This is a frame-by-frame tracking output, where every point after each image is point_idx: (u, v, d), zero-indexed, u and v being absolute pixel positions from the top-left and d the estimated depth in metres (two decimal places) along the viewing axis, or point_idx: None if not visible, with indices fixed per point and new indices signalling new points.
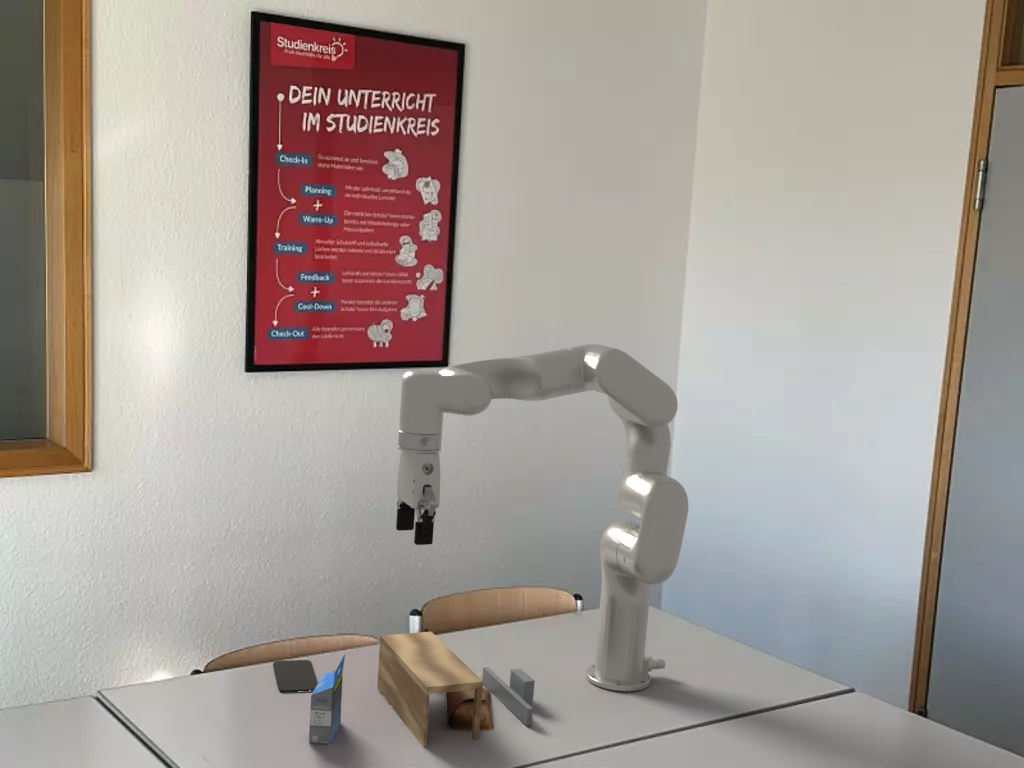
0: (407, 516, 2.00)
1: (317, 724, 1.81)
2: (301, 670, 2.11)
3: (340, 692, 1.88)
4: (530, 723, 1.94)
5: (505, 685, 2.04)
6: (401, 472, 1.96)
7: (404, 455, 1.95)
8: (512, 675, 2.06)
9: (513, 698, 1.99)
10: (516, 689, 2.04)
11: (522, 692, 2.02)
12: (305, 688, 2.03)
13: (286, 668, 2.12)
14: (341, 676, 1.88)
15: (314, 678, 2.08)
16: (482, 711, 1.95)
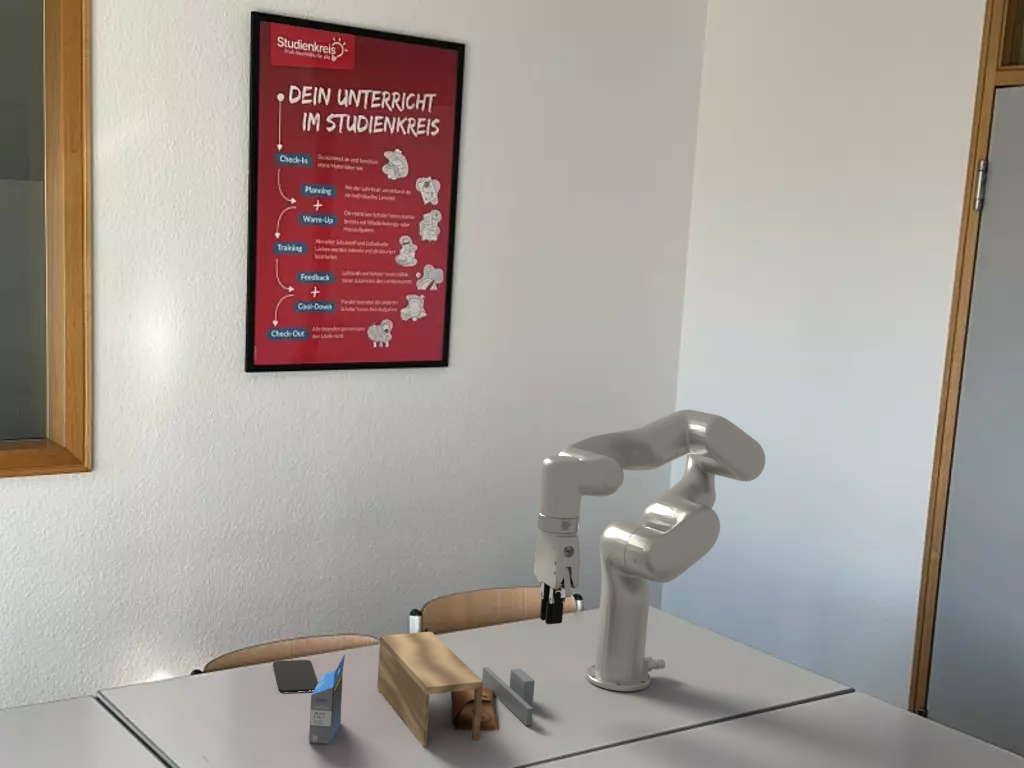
0: None
1: (317, 724, 1.81)
2: (301, 670, 2.11)
3: (340, 692, 1.88)
4: (530, 723, 1.94)
5: (505, 685, 2.04)
6: (539, 553, 2.04)
7: (543, 536, 2.03)
8: (512, 675, 2.06)
9: (513, 698, 1.99)
10: (516, 689, 2.04)
11: (522, 692, 2.02)
12: (305, 688, 2.03)
13: (286, 668, 2.12)
14: (341, 676, 1.88)
15: (314, 678, 2.08)
16: (487, 712, 1.95)
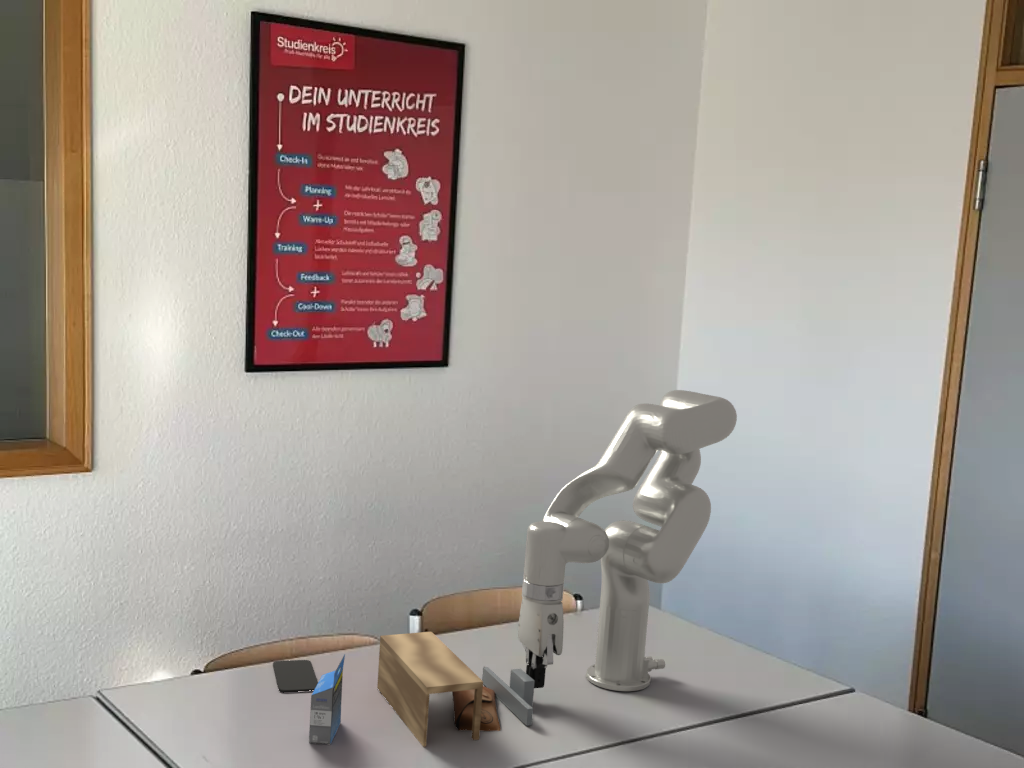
0: None
1: (317, 724, 1.81)
2: (301, 670, 2.11)
3: (340, 692, 1.88)
4: (530, 723, 1.94)
5: (505, 685, 2.04)
6: (524, 618, 2.04)
7: (527, 602, 2.03)
8: (512, 675, 2.06)
9: (513, 698, 1.99)
10: (516, 689, 2.04)
11: (522, 692, 2.02)
12: (305, 688, 2.03)
13: (286, 668, 2.12)
14: (341, 676, 1.88)
15: (314, 678, 2.08)
16: (489, 712, 1.95)
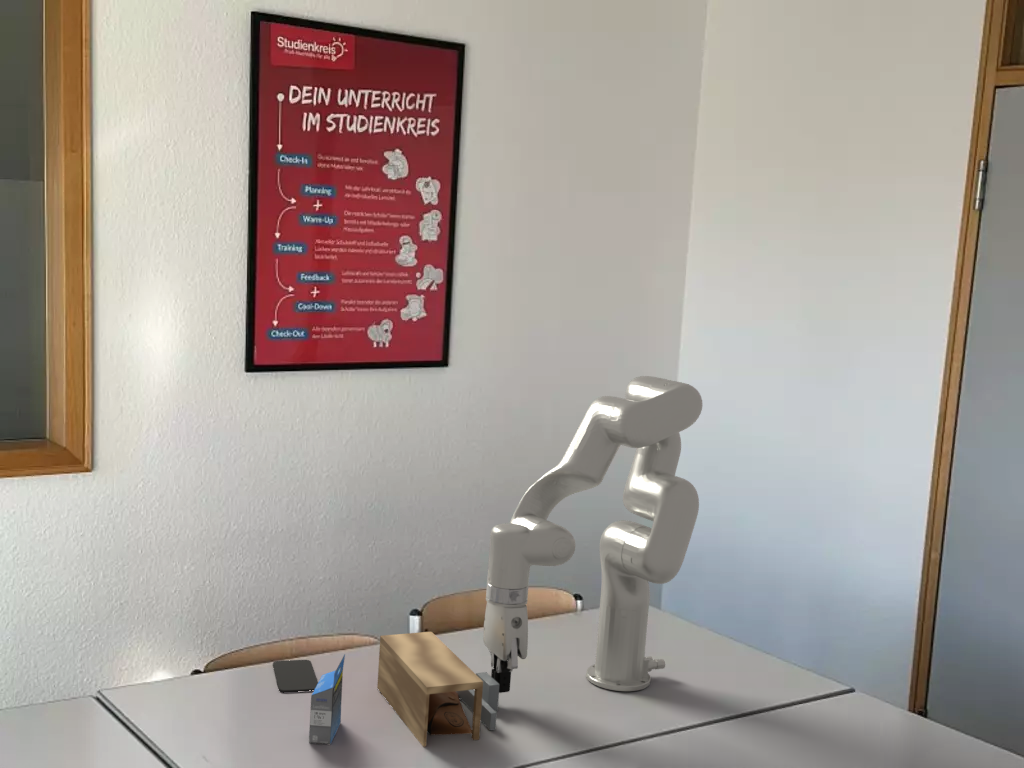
0: None
1: (317, 724, 1.81)
2: (301, 670, 2.11)
3: (340, 692, 1.88)
4: (494, 728, 1.91)
5: None
6: (488, 622, 2.02)
7: (491, 606, 2.00)
8: None
9: None
10: None
11: (486, 695, 1.99)
12: (305, 688, 2.03)
13: (286, 668, 2.12)
14: (341, 676, 1.88)
15: (314, 678, 2.08)
16: (459, 715, 1.93)
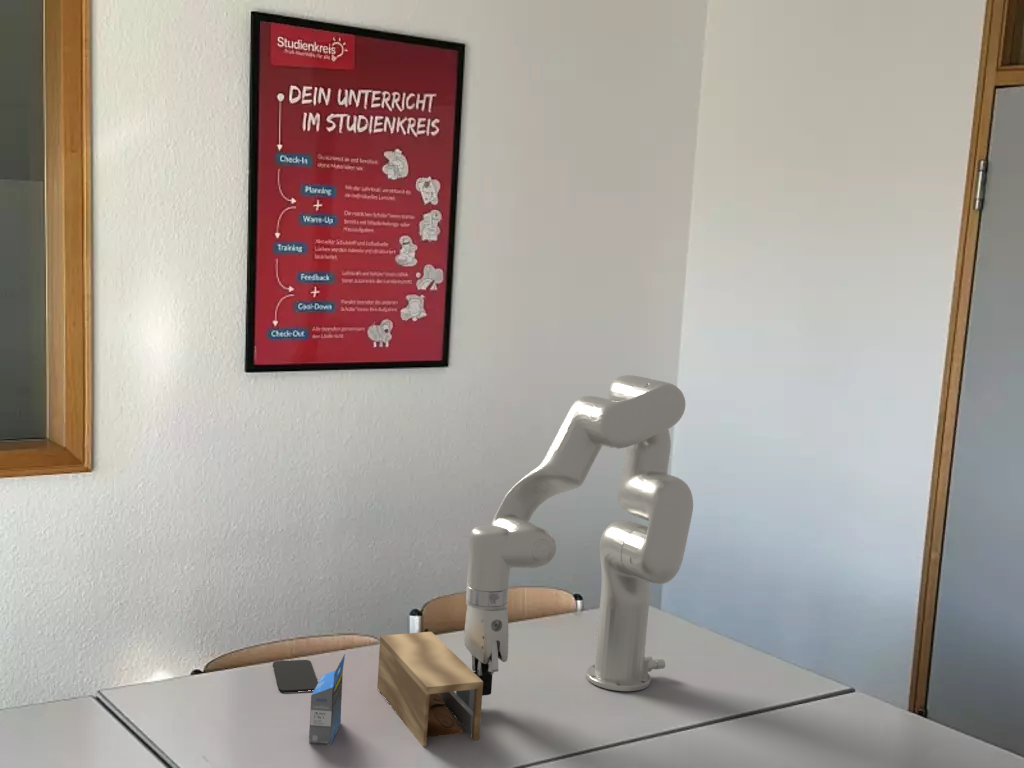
0: None
1: (317, 724, 1.81)
2: (301, 670, 2.11)
3: (340, 692, 1.88)
4: None
5: None
6: (469, 625, 2.00)
7: (471, 609, 1.99)
8: None
9: (458, 704, 1.95)
10: (462, 695, 2.00)
11: (467, 697, 1.97)
12: (305, 687, 2.03)
13: (286, 668, 2.12)
14: (341, 676, 1.88)
15: (314, 678, 2.08)
16: (447, 715, 1.92)
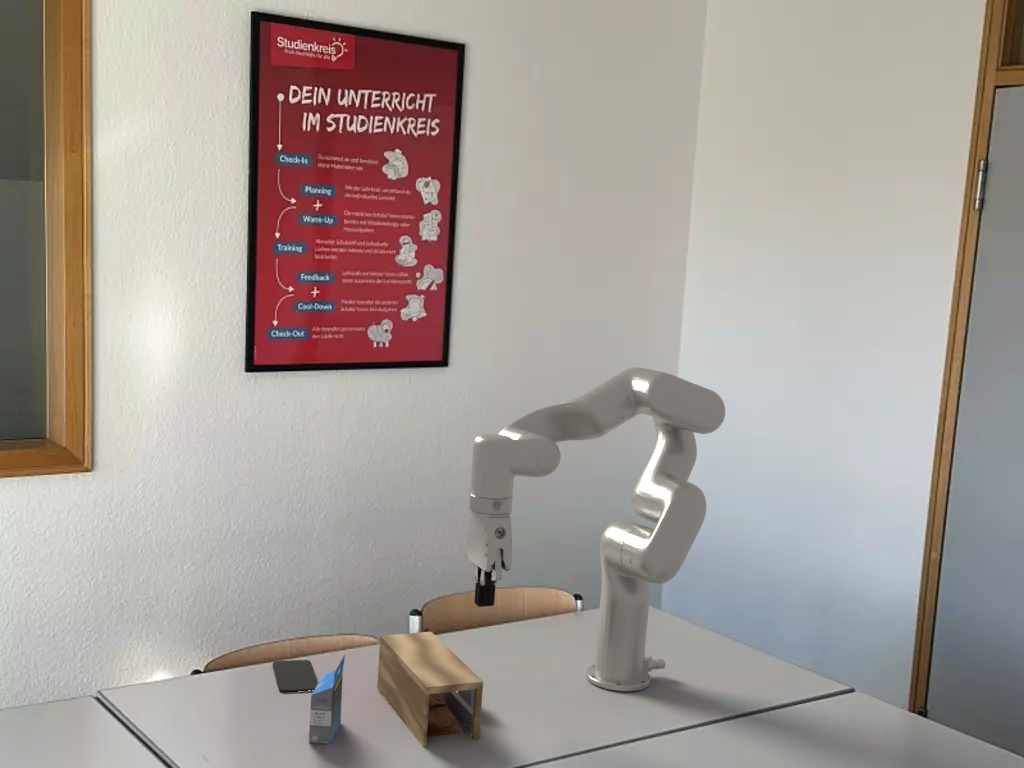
0: None
1: (317, 724, 1.81)
2: (301, 670, 2.11)
3: (340, 692, 1.88)
4: None
5: None
6: (472, 534, 1.98)
7: (475, 518, 1.97)
8: None
9: (459, 704, 1.95)
10: (464, 695, 2.00)
11: (469, 697, 1.97)
12: (305, 688, 2.03)
13: (286, 668, 2.12)
14: (341, 676, 1.88)
15: (314, 678, 2.08)
16: (448, 716, 1.92)
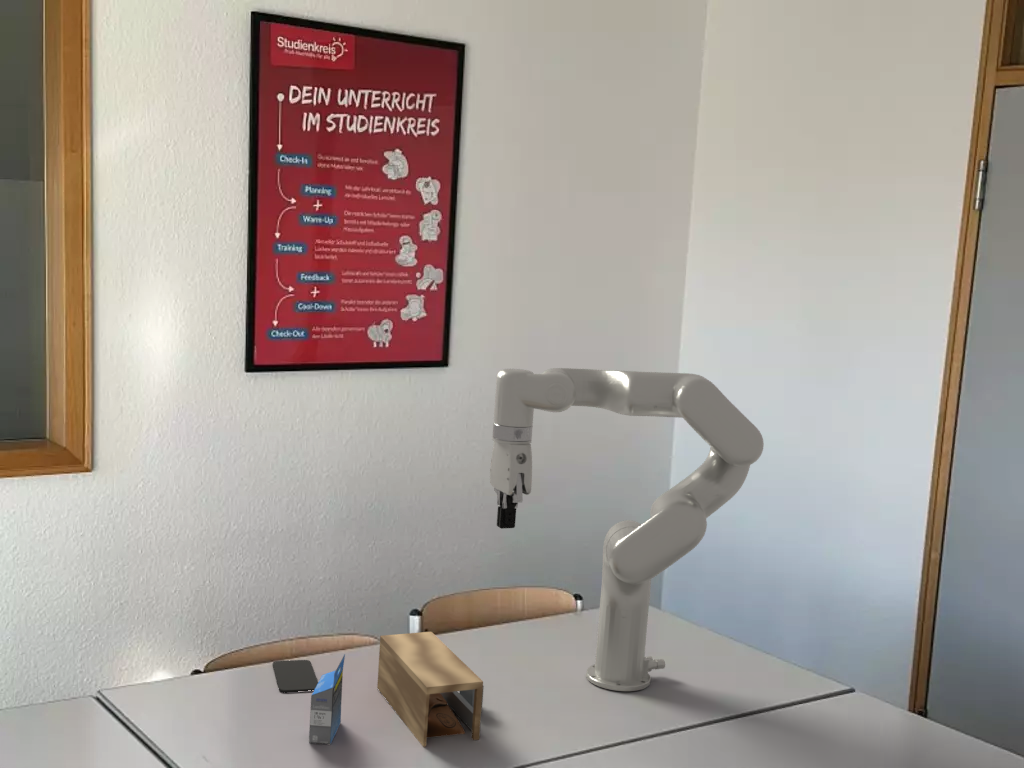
0: None
1: (317, 724, 1.81)
2: (301, 670, 2.11)
3: (340, 692, 1.88)
4: None
5: None
6: (495, 462, 2.14)
7: (497, 446, 2.13)
8: None
9: (461, 704, 1.95)
10: (465, 695, 2.00)
11: (471, 697, 1.98)
12: (306, 687, 2.03)
13: (286, 668, 2.12)
14: (341, 676, 1.88)
15: (314, 678, 2.08)
16: (450, 716, 1.92)
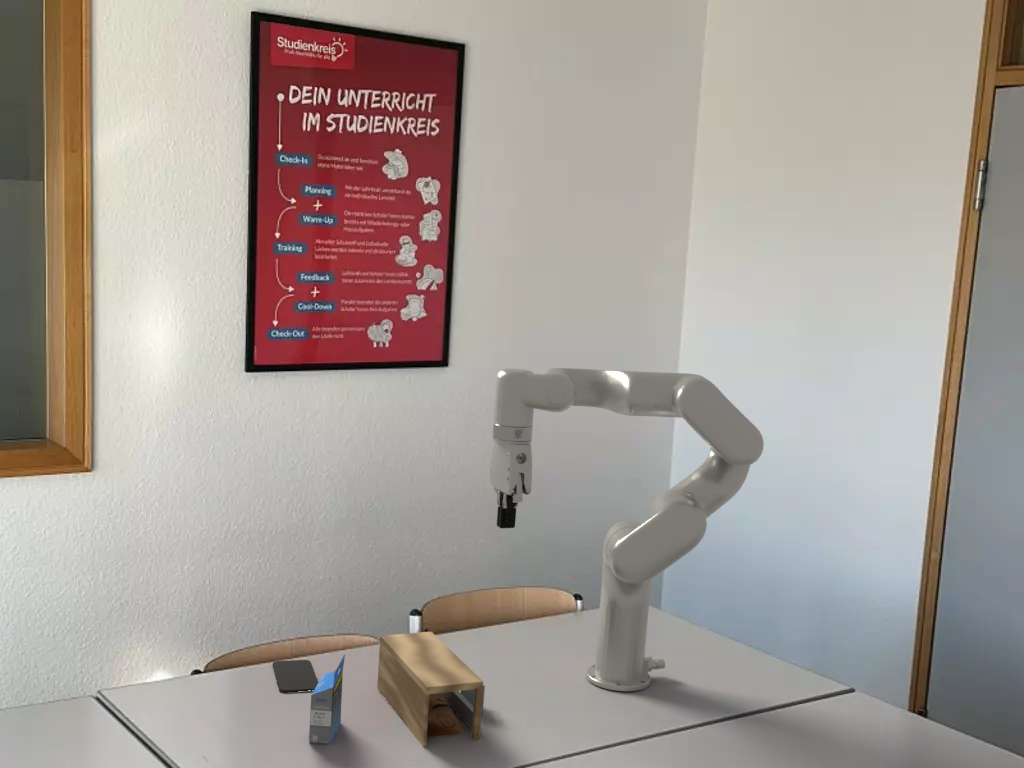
0: None
1: (317, 724, 1.81)
2: (301, 670, 2.11)
3: (340, 692, 1.88)
4: None
5: None
6: (495, 462, 2.14)
7: (497, 446, 2.13)
8: None
9: (462, 704, 1.95)
10: (466, 695, 2.00)
11: (472, 697, 1.98)
12: (306, 687, 2.03)
13: (286, 668, 2.12)
14: (341, 676, 1.88)
15: (314, 678, 2.08)
16: (450, 716, 1.92)
